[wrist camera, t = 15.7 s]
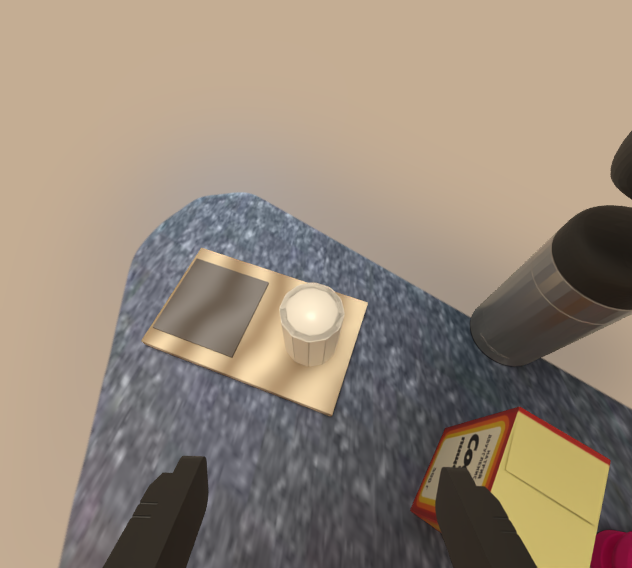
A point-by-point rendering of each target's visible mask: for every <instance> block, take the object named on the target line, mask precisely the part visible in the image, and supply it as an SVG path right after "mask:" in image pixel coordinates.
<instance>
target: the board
mask: <svg viewBox="0 0 632 568" xmlns="http://www.w3.org/2000/svg"><path fill="white" fill-rule="evenodd" d="M300 284H307V283H306V282H303V281H300V280H297V279H294V278H291V277H288V276H285V275H282V274H279V273H276V272H273V271H270V270H267V269H264V268H261V267H258V266H255V265H252V264H249V263H246V262H243V261H240V260H237V259H234V258H231V257H228V256H225V255H222V254H219V253H216V252H213V251H210V250H207V249H203V248H201V249H200V251H199V252H198V254H197V255H196V257H195V259H194V260H193V262H192V263H191V265H190V266H189V268H188V269H187V271H186V272H185V274H184V276H183V277H182V279H181V280H180V282H179V283H178V285H177V286H176V288H175V289H174V291H173V293H172V294H171V296H170V297H169V299H168V300H167V302H166V303H165V305H164V307H163V308H162V310H161V311H160V313H159V314H158V316H157V317H156V319H155V320H154V322H153V324H152V325H151V327H150V328H149V330H148V331H147V333H146V334H145V336H144V337H143V339H142V342H143V343H144V344H146V345H148V346H150V347H153V348H155V349H158V350H160V351H163V352H166V353H168V354H171V355H173V356H176V357H179V358H181V359H184V360H186V361H189V362H191V363H194V364H197V365H199V366H202V367H204V368H207V369H209V370H212V371H215V372H217V373H220V374H222V375H225V376H228V377H230V378H233V379H235V380H238V381H240V382H243V383H246V384H248V385H251V386H253V387H256V388H258V389H261V390H264V391H266V392H269V393H271V394H274V395H276V396H279V397H282V398H284V399H287V400H289V401H292V402H295V403H297V404H300V405H302V406H305V407H307V408H310V409H313V410H315V411H318V412H320V413H323V414H325V415H328V416H332V414H333V410H334V407H335V404H336V401H337V398H338V395H339V392H340V389H341V385H342V382H343V379H344V376H345V373H346V370H347V367H348V364H349V360H350V357H351V354H352V351H353V348H354V345H355V342H356V339H357V335H358V332H359V329H360V326H361V323H362V320H363V317H364V314H365V310H366V307H367V304H368V303H367V302H364V301H361V300H358V299H355V298H352V297H349V296H346V295H343V294H340V293H337V292H335V293H336V294H337V295H338V296H339V297H340V298H341V300H342V304H343V308H344V313H345V314H344V319H343V323H342V327H341V332H340V336H339V340H338V344H337V347H336V350H335V352H334V355H333V356H332V357H331V358H330V359H329V360H328V361H326V362H325V363H324V364H322V365H317V366H312V367H309V365H308V367H307V366H304V365H302V364H299V363H296V362H295V361H294V360H293V359H292V358H291V356H290V355H289V354H288V353H287V351H286V347H285V341H284V336H283V330H282V325H281V318H280V310H279V309H280V308H279V307H280V305H281V303H282V301H283V299H284V297H285V294H286V293H288V292H289V291H290V290H292V289H293V288H295V287H296V286H298V285H300Z"/></svg>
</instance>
